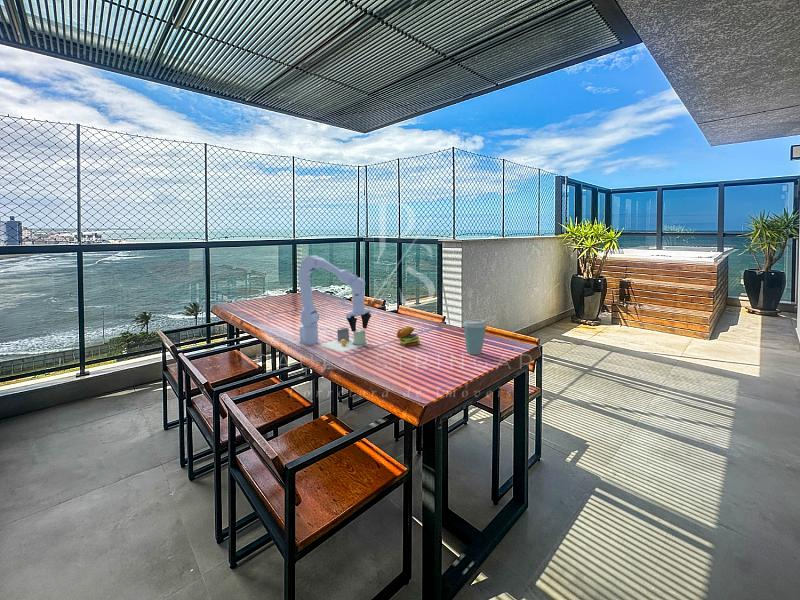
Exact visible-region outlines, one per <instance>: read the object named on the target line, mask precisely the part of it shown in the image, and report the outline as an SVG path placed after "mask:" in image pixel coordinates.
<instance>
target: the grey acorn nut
mask: <svg viewBox="0 0 800 600" xmlns="http://www.w3.org/2000/svg"><path fill="white" fill-rule="evenodd" d="M336 332H337V333H336V334H337V340H338V341H340V342H341V340H342V339H345V340H346V341H349V338H350V329H349V327H339V328H337V331H336Z"/></svg>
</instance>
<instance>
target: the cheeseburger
mask: <svg viewBox="0 0 800 600" xmlns="http://www.w3.org/2000/svg"><path fill="white" fill-rule="evenodd" d="M414 331H415V328H414V327H412V326H405V327H403V328H400V329H397V331H396V338H397V339H399V343H400V344H401V345H402V346H404V347H413V346H418V345H420V343H421V340H420V336H419V335H418V334H417V333H413V332H414Z"/></svg>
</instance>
